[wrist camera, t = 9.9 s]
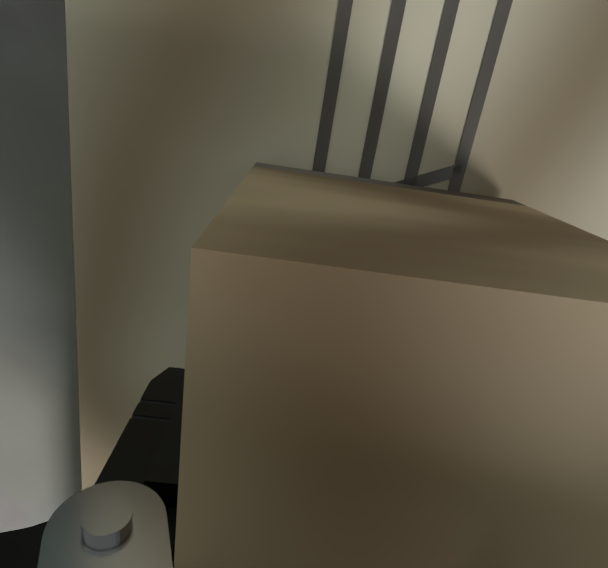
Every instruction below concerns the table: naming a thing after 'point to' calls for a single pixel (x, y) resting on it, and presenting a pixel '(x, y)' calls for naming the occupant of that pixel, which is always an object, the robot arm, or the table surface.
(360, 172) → the board
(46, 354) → the table surface
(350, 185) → the block
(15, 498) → the table surface
